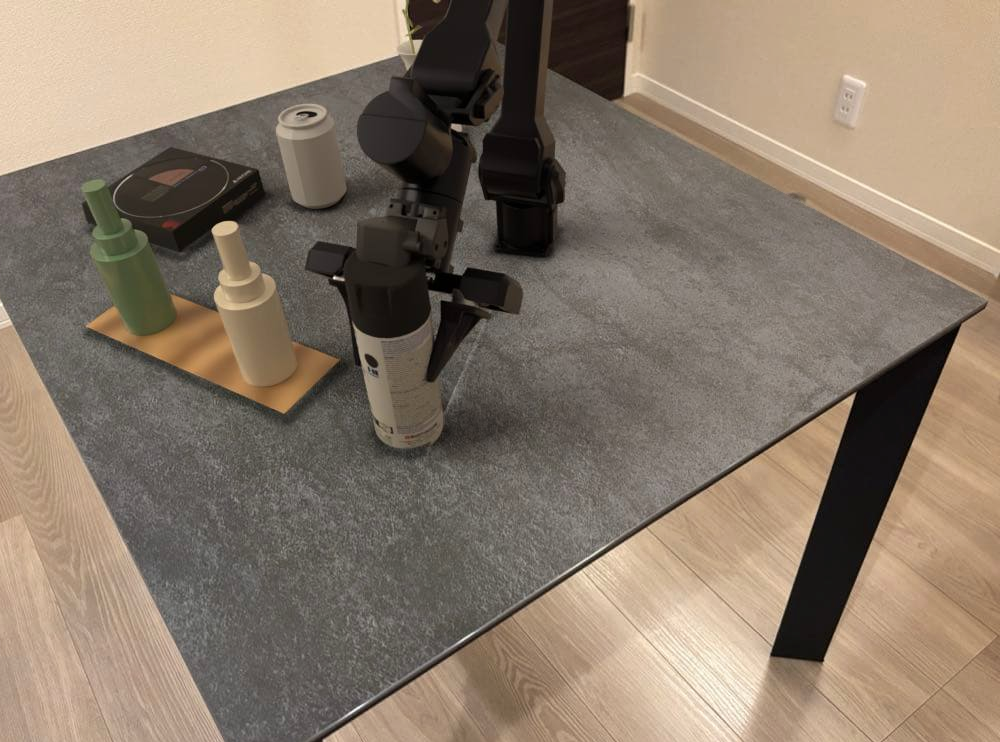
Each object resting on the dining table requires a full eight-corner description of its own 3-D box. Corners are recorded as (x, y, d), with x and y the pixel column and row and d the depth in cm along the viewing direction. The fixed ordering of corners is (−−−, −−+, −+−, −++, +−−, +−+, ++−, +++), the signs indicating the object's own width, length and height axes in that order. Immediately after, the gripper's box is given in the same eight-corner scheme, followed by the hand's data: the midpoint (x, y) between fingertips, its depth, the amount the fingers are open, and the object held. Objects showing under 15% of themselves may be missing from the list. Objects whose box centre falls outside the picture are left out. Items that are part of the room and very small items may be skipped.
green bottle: (113, 331, 93) (49, 198, 81) (142, 299, 97) (85, 167, 85) (159, 339, 91) (101, 204, 80) (187, 306, 95) (135, 172, 83)
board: (341, 366, 87) (340, 359, 87) (286, 420, 82) (284, 413, 82) (147, 290, 100) (144, 283, 99) (88, 332, 95) (85, 325, 94)
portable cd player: (176, 171, 121) (167, 145, 118) (265, 195, 114) (258, 169, 111) (90, 228, 111) (78, 202, 108) (182, 258, 104) (172, 231, 102)
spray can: (388, 398, 83) (355, 234, 68) (453, 408, 81) (434, 242, 67) (367, 449, 79) (327, 285, 64) (435, 460, 77) (410, 295, 62)
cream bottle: (230, 382, 85) (179, 243, 74) (256, 345, 89) (212, 207, 78) (282, 390, 84) (238, 250, 72) (307, 352, 88) (269, 213, 76)
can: (356, 186, 114) (341, 102, 106) (333, 215, 109) (315, 129, 101) (308, 180, 116) (289, 97, 108) (283, 208, 111) (261, 124, 103)
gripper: (291, 157, 67) (253, 345, 68) (507, 188, 61) (463, 393, 62) (351, 193, 78) (318, 356, 79) (540, 222, 72) (502, 397, 73)
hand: (393, 374), depth 73 cm, fingers closed on spray can, 6 cm apart
